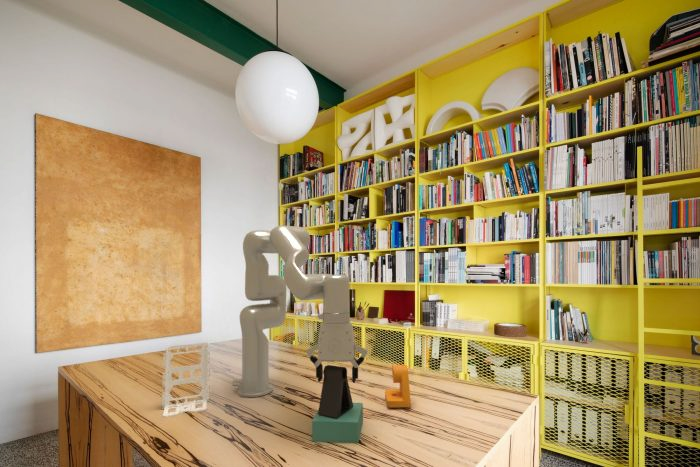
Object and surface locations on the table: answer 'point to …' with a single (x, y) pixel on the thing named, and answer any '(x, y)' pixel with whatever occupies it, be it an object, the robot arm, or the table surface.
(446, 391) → the table surface
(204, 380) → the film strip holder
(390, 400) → the bracket
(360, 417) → the green block
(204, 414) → the table surface
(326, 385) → the phone stand
